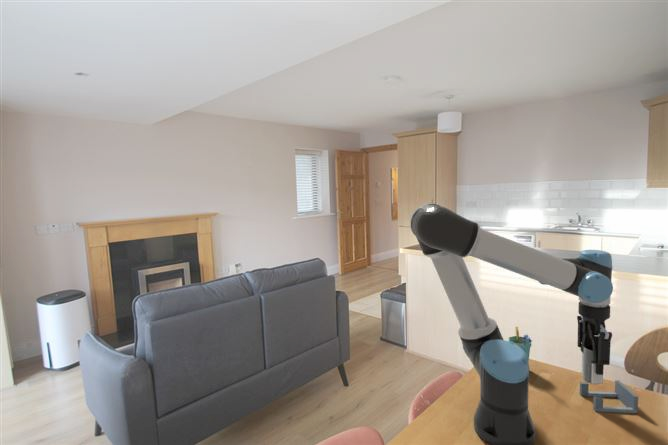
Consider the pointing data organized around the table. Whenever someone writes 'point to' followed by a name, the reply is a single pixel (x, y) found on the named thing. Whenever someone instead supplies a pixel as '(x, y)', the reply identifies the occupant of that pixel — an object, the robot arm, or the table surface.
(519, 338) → the cup
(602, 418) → the table surface
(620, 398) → the endcap rail
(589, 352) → the grey tube
